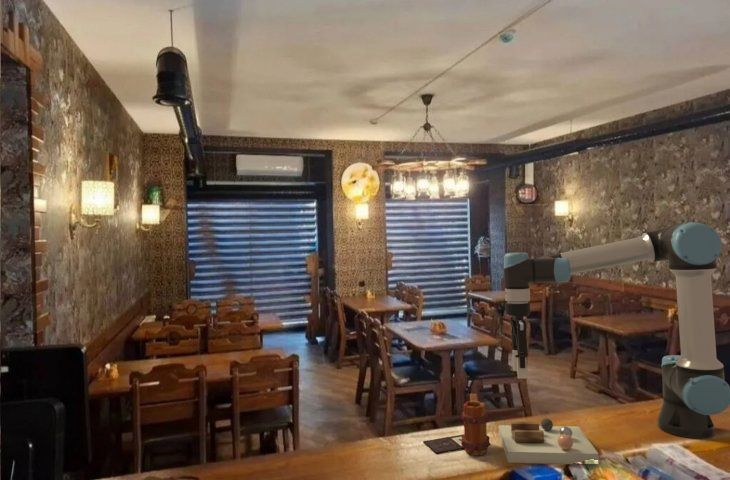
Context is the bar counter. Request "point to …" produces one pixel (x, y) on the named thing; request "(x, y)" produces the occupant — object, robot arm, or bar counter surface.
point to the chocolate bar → (445, 444)
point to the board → (547, 447)
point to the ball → (566, 431)
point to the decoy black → (546, 424)
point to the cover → (527, 432)
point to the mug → (475, 427)
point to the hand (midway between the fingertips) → (519, 374)
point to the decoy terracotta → (565, 442)
